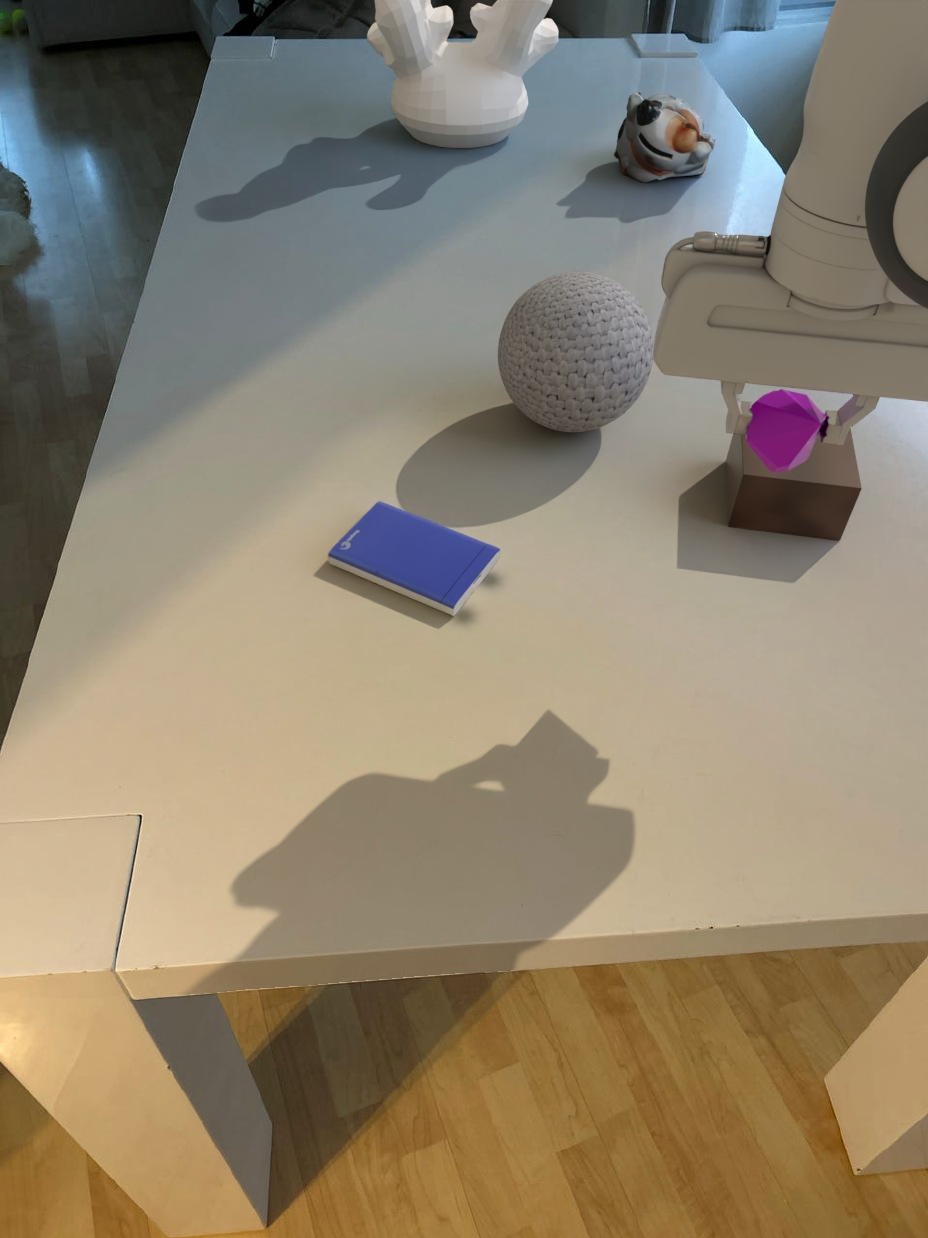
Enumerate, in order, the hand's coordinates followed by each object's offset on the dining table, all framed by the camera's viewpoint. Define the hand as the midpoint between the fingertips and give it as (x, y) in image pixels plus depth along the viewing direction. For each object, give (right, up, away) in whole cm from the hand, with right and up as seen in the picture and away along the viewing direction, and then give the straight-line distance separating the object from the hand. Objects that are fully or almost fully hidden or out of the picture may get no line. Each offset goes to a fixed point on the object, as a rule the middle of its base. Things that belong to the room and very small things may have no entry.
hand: (783, 434), depth 67 cm
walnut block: (+7, -2, +22) cm, 23 cm away
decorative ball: (-12, +7, +31) cm, 34 cm away
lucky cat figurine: (+7, +53, +74) cm, 91 cm away
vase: (-23, +64, +84) cm, 108 cm away
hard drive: (-27, -8, +15) cm, 32 cm away
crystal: (0, -1, +1) cm, 2 cm away
